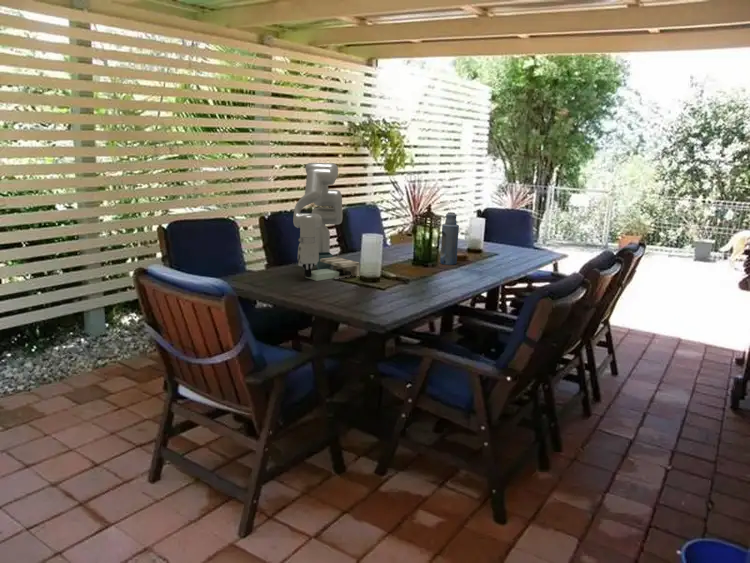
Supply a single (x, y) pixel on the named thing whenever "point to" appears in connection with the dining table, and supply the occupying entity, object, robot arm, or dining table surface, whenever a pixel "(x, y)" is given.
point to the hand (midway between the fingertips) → (307, 276)
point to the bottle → (449, 240)
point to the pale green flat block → (323, 274)
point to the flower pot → (321, 264)
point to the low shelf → (343, 266)
